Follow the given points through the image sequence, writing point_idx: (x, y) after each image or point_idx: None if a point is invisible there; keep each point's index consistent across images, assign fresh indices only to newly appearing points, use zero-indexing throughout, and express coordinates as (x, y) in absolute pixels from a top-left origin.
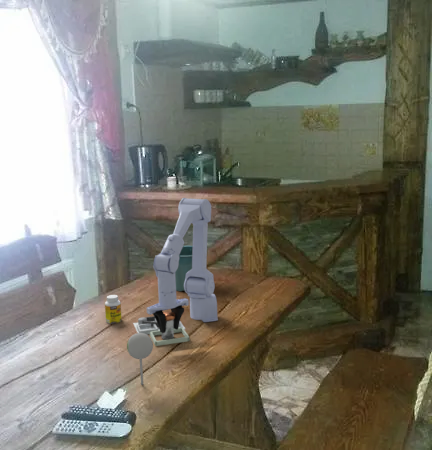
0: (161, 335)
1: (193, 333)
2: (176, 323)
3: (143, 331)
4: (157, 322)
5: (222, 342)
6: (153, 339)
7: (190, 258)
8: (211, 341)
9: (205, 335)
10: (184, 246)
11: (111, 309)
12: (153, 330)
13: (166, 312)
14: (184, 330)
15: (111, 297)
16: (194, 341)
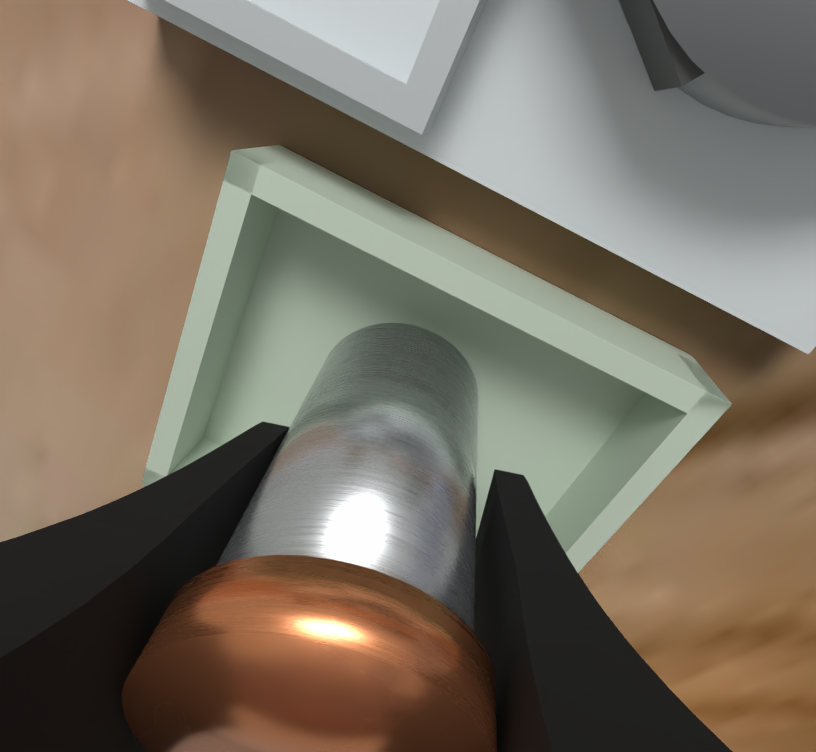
0: (322, 366)
1: (795, 434)
2: (474, 630)
3: (176, 5)
4: (142, 499)
5: (729, 738)
6: (169, 396)
7: None
8: (693, 673)
9: (809, 564)
10: None
11: None
12: (348, 93)
13: (340, 679)
14: (635, 503)
15: None
16: (593, 572)
